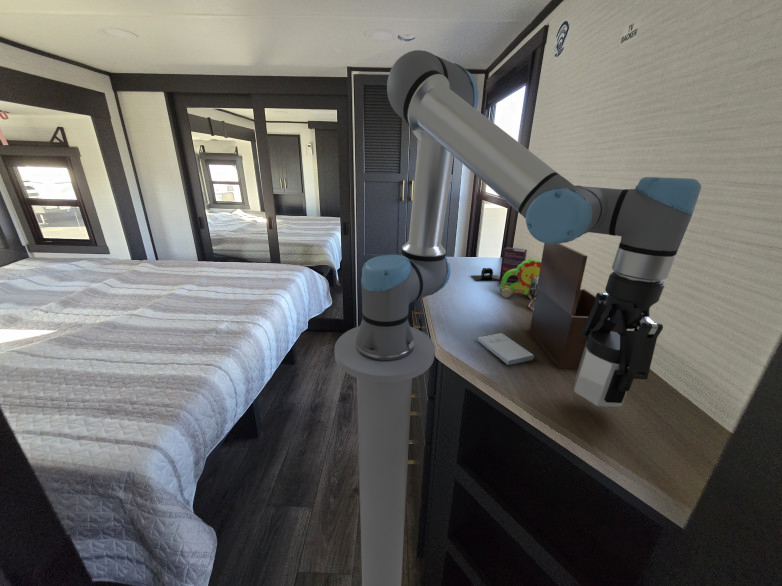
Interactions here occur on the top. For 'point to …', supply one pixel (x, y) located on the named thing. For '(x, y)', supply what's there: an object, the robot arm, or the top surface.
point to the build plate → (486, 276)
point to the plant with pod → (533, 291)
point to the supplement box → (511, 263)
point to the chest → (562, 328)
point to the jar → (598, 367)
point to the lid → (562, 275)
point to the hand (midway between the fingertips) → (598, 385)
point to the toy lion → (521, 278)
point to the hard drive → (505, 349)
